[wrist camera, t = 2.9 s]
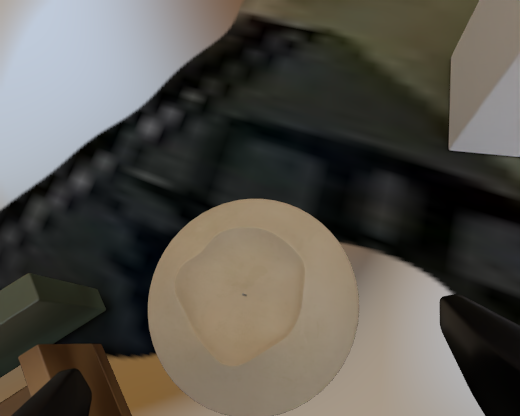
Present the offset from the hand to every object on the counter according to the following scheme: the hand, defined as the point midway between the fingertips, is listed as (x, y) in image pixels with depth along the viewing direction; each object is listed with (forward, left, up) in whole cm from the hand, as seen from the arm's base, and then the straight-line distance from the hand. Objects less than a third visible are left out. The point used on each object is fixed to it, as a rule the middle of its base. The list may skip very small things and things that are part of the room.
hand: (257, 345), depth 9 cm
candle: (+1, 0, -9) cm, 9 cm away
